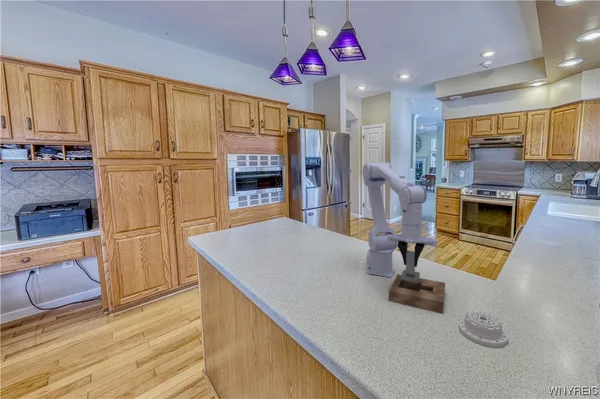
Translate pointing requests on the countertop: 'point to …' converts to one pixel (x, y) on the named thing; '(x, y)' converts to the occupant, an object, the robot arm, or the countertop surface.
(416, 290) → the keyhole plate
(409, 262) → the footed peg
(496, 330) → the mechanical component
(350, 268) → the countertop surface
